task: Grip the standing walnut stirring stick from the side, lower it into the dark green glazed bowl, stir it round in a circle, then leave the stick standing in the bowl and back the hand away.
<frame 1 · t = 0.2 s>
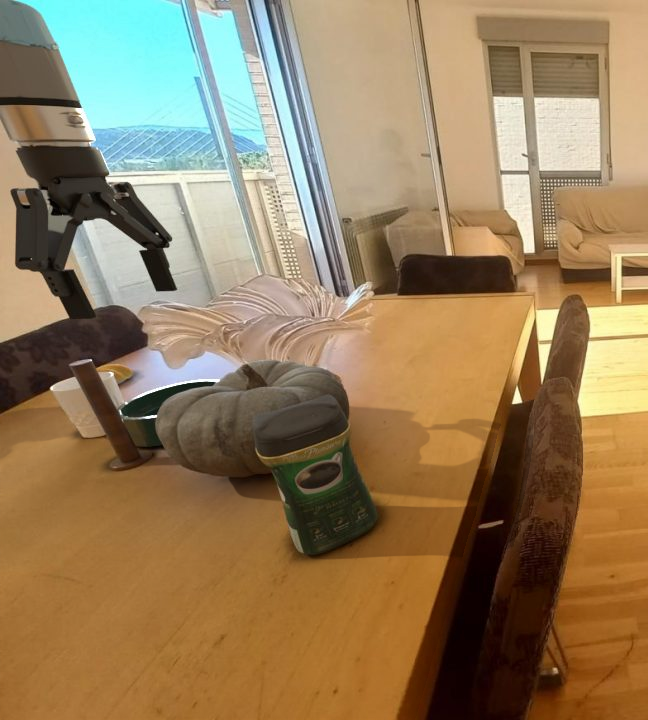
hand: (129, 303, 70), 26 cm above the table, tool pointing down, fingers open, 13 cm apart
white cup: (108, 429, 89), on the table
stirring stick: (132, 461, 79), on the table
gourd: (278, 453, 80), on the table
coffee jar: (338, 531, 62), on the table
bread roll: (108, 384, 108), on the table
bowl: (186, 426, 89), on the table
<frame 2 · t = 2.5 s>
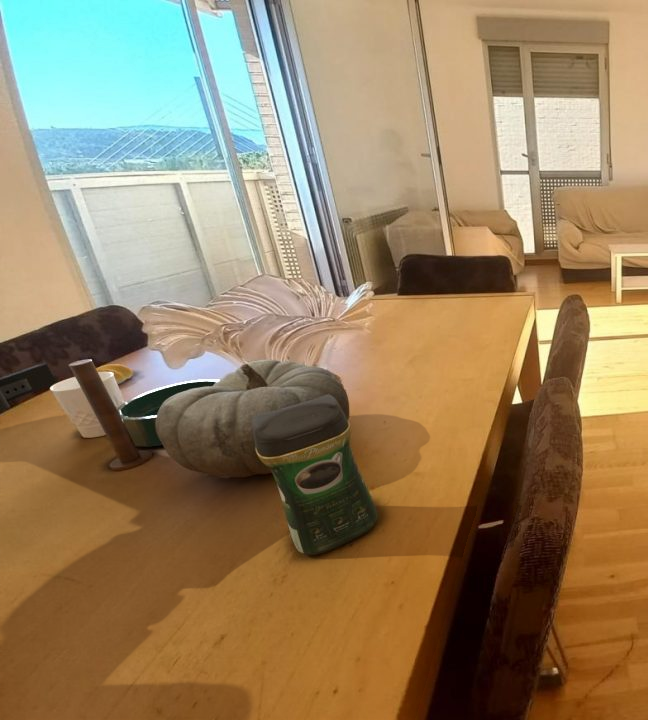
nothing on the table moved.
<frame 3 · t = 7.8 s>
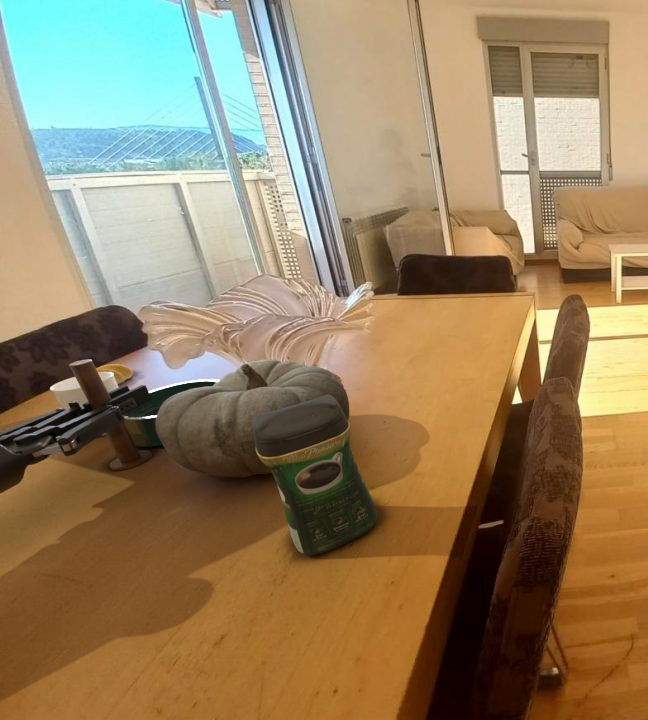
hand: (137, 392, 80), 10 cm above the table, tool horizontal, fingers closed on stirring stick, 2 cm apart
stirring stick: (132, 461, 79), on the table, touching gripper
everything else where it was.
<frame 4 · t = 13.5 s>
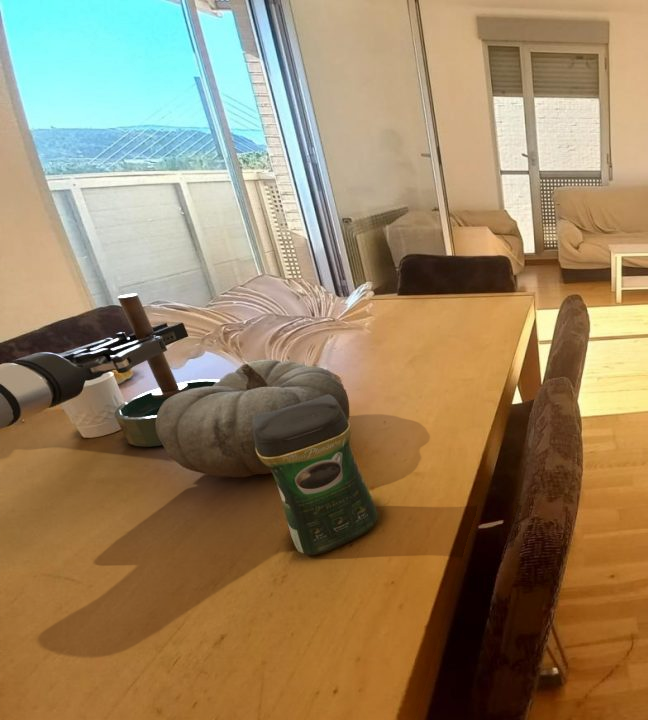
hand: (175, 329, 87), 17 cm above the table, tool horizontal, fingers closed on stirring stick, 2 cm apart
stirring stick: (171, 391, 86), point 7 cm above the table, touching gripper
everything else where it was.
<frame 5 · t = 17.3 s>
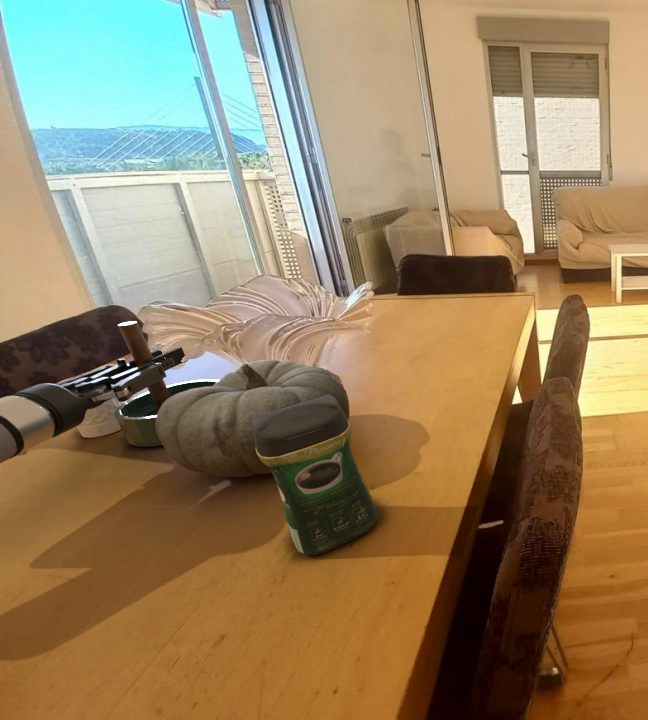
hand: (174, 354, 89), 13 cm above the table, tool horizontal, fingers closed on stirring stick, 2 cm apart
stirring stick: (170, 415, 88), point 3 cm above the table, touching gripper
everything else where it was.
when the fingers open (11 cm above the table, at t = 19.7 s): stirring stick stays where it is, resting on bowl.
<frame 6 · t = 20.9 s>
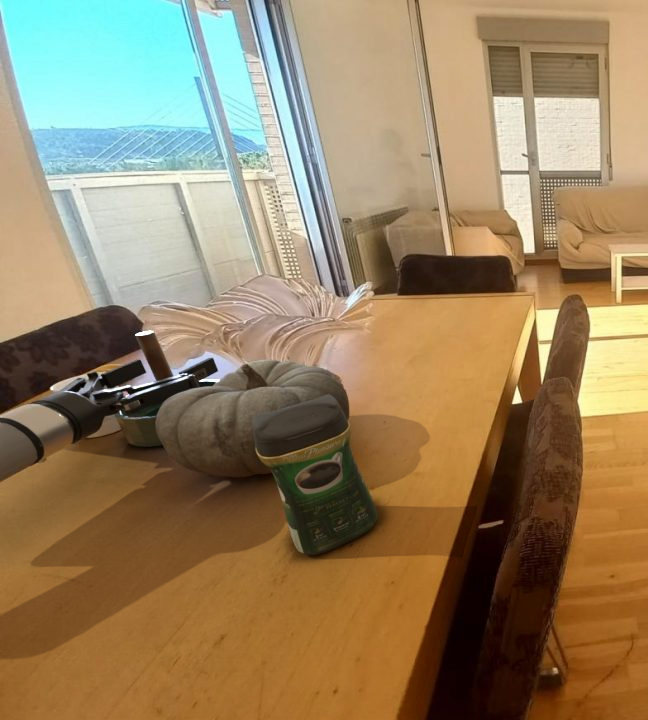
hand: (177, 365, 87), 11 cm above the table, tool horizontal, fingers open, 13 cm apart
stirring stick: (185, 423, 89), point 1 cm above the table, touching bowl
everything else where it was.
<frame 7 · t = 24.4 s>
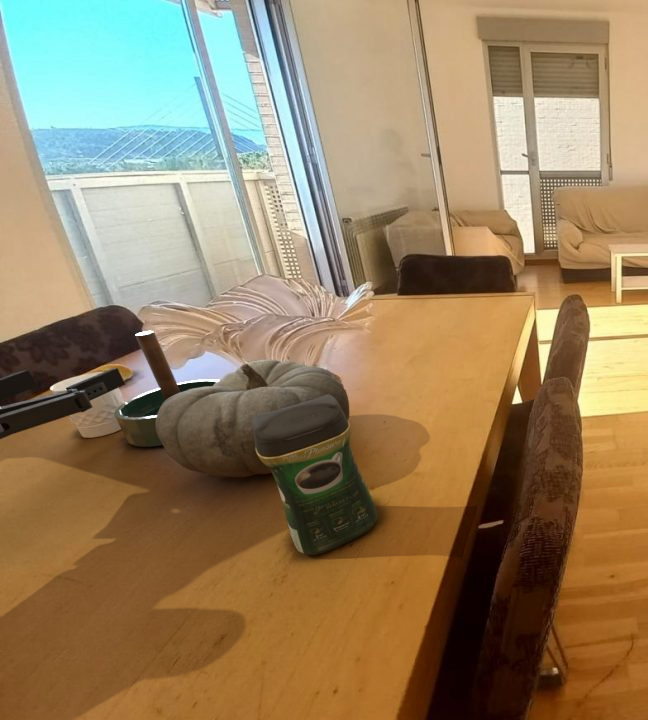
hand: (75, 377, 71), 16 cm above the table, tool horizontal, fingers open, 13 cm apart
nothing on the table moved.
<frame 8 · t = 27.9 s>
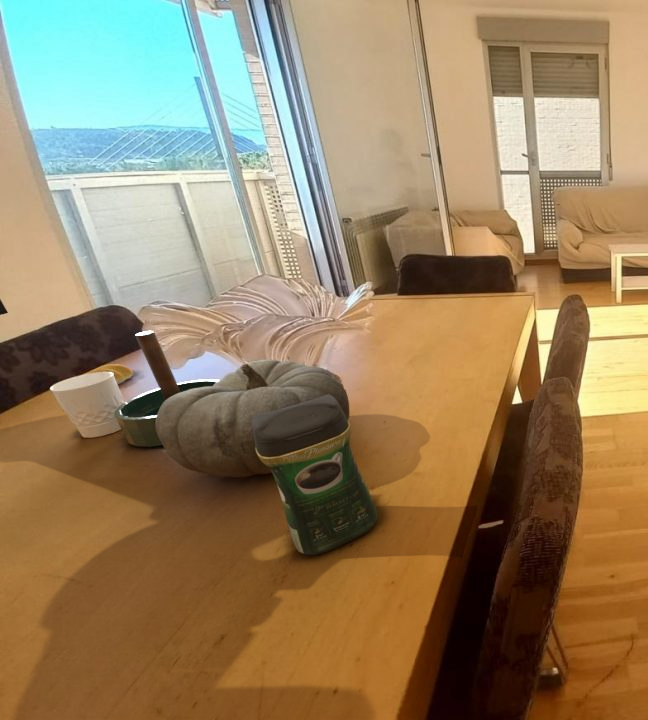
nothing on the table moved.
at the end: stirring stick inside the target area in the bowl (0.1 cm from its centre), point 0.6 cm above the bowl's base; stirring stick moved 11.3 cm from its start; the gripper is holding nothing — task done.
